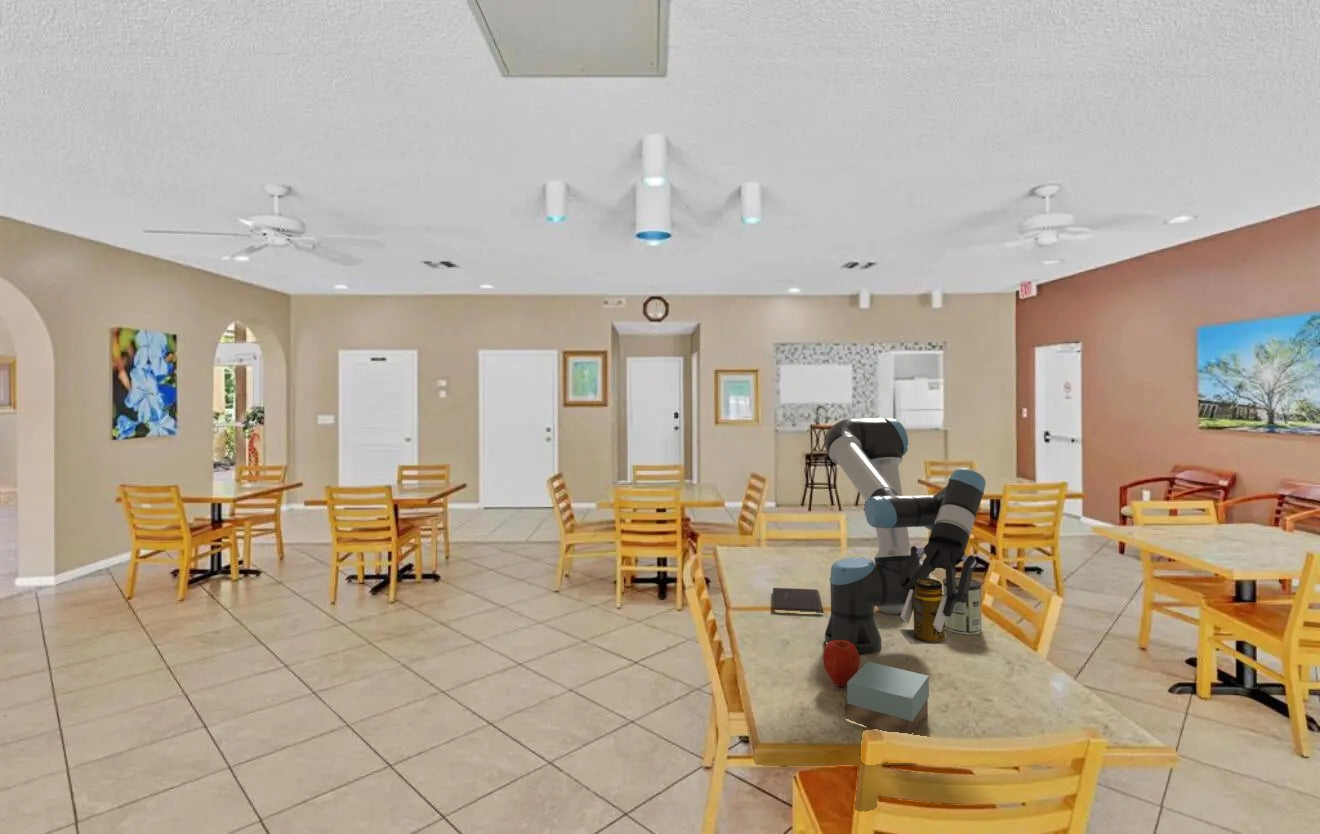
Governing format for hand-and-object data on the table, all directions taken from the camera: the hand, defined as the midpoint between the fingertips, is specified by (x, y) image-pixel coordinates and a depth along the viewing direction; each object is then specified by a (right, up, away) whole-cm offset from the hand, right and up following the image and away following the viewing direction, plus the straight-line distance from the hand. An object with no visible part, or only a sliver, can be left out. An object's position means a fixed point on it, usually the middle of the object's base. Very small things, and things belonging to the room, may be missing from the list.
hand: (920, 624), depth 126 cm
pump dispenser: (+21, -21, +73) cm, 79 cm away
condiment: (+2, -4, +3) cm, 6 cm away
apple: (-10, -22, +20) cm, 31 cm away
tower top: (-5, -17, +4) cm, 19 cm away
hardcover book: (-7, -22, +83) cm, 86 cm away
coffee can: (+36, -21, +56) cm, 70 cm away
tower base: (-5, -22, +4) cm, 23 cm away
